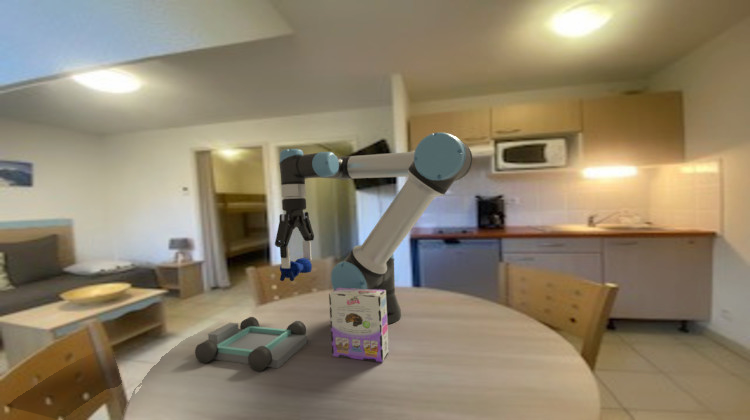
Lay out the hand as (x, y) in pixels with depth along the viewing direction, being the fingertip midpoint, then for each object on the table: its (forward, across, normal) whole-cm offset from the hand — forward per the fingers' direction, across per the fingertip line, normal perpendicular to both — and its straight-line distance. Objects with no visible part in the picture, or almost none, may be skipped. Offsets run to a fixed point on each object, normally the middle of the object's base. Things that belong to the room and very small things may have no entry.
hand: (297, 263), depth 106 cm
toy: (+4, 0, 0) cm, 4 cm away
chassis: (+19, +20, -2) cm, 28 cm away
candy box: (+20, +16, +27) cm, 37 cm away
